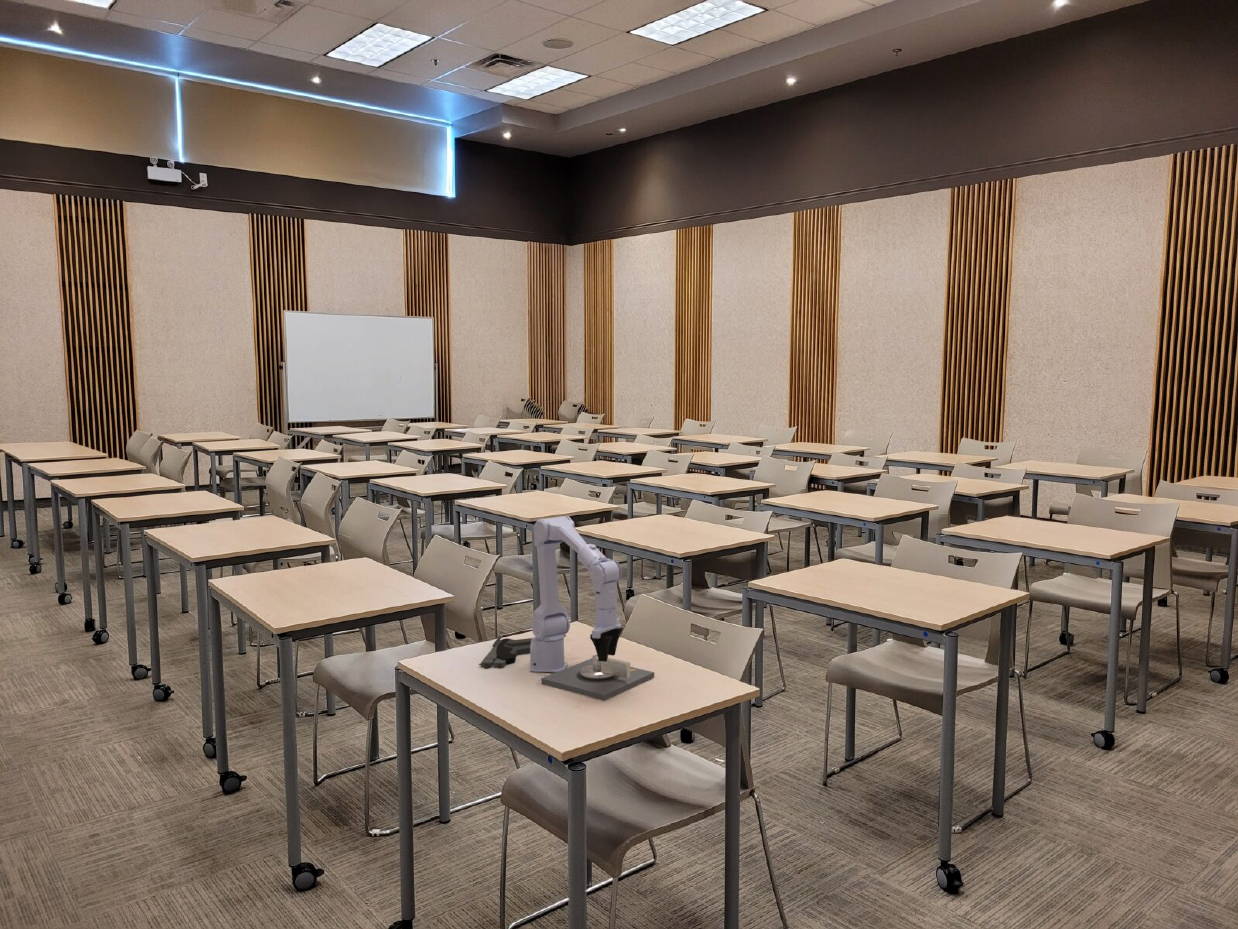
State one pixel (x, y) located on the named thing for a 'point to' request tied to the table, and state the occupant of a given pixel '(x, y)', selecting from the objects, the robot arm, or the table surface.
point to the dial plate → (595, 681)
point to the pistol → (505, 652)
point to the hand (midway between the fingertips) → (606, 658)
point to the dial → (605, 669)
